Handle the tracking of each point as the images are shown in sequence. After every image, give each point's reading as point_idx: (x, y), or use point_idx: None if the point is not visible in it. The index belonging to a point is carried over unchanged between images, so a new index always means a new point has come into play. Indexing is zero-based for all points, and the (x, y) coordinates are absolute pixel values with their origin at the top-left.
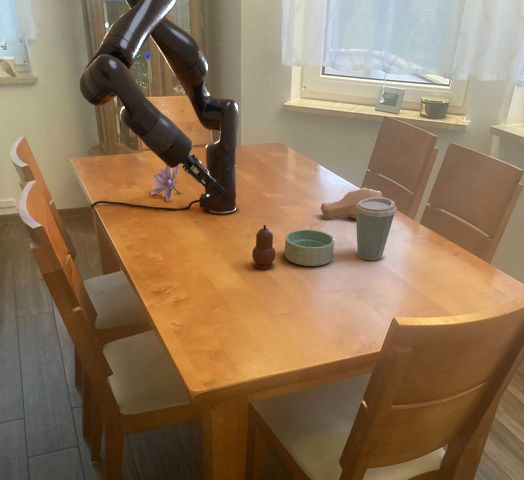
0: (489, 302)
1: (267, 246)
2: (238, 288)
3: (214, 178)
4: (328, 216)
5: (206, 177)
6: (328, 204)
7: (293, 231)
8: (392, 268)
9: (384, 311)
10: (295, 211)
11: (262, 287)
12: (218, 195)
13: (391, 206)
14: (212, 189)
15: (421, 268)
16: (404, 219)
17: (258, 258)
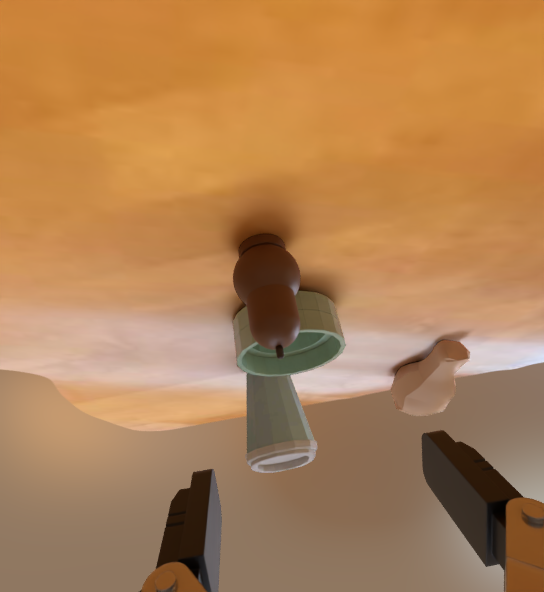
0: (110, 421)
1: (247, 310)
2: (105, 181)
3: (438, 499)
4: (437, 348)
5: (464, 508)
6: (456, 364)
7: (342, 339)
8: (215, 380)
9: (50, 370)
10: (513, 312)
11: (123, 237)
12: (171, 507)
13: (257, 471)
14: (161, 562)
15: (212, 395)
16: (375, 391)
17: (240, 266)
